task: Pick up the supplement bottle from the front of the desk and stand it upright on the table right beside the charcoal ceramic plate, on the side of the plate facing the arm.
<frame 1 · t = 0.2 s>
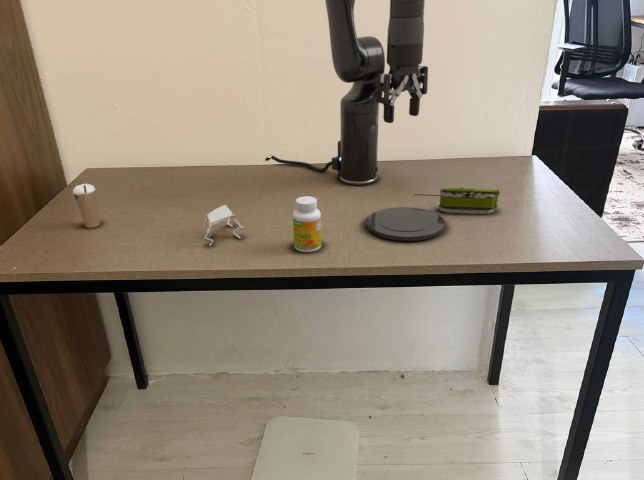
hand: (401, 118, 128), 17 cm above the table, tool pointing down, fingers open, 8 cm apart
plate: (405, 226, 119), on the table
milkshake: (93, 226, 125), on the table
toy tank: (452, 209, 127), on the table
supplement bottle: (307, 247, 112), on the table
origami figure: (225, 235, 119), on the table
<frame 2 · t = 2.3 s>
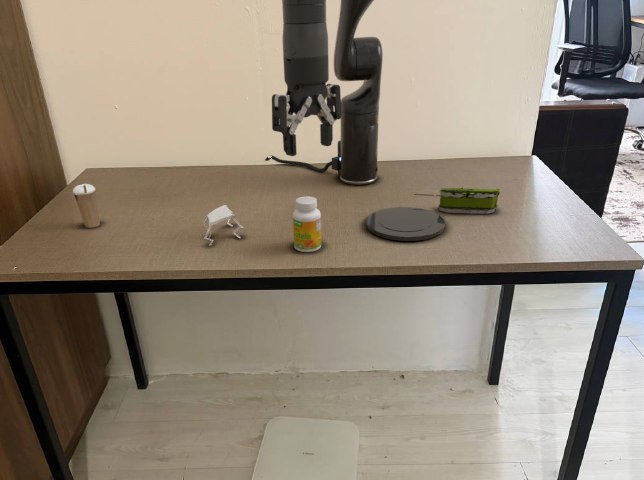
hand: (308, 150, 102), 19 cm above the table, tool pointing down, fingers open, 8 cm apart
nothing on the table moved.
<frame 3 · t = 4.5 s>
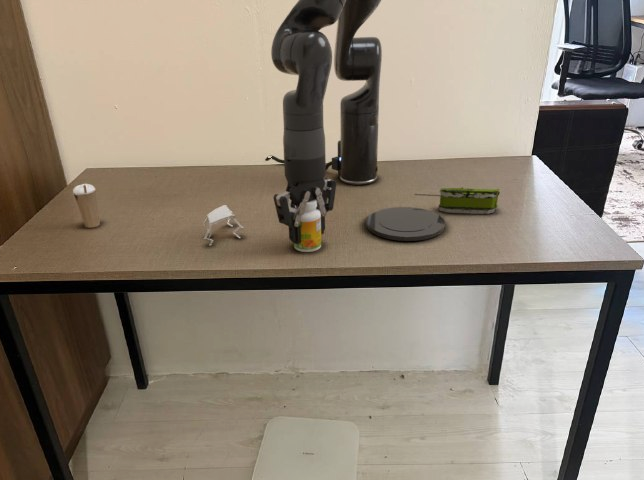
hand: (307, 237, 111), 2 cm above the table, tool pointing down, fingers closed on supplement bottle, 5 cm apart
supplement bottle: (307, 247, 112), on the table, touching gripper
everything else where it was.
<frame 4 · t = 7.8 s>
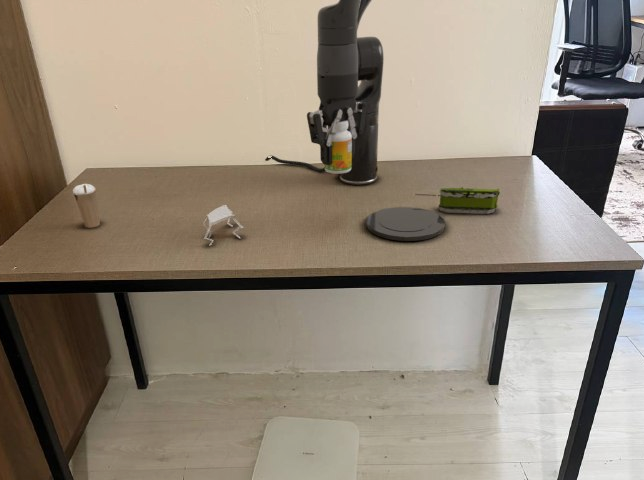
hand: (337, 160, 113), 14 cm above the table, tool pointing down, fingers closed on supplement bottle, 5 cm apart
supplement bottle: (338, 171, 114), point 12 cm above the table, touching gripper
everything else where it was.
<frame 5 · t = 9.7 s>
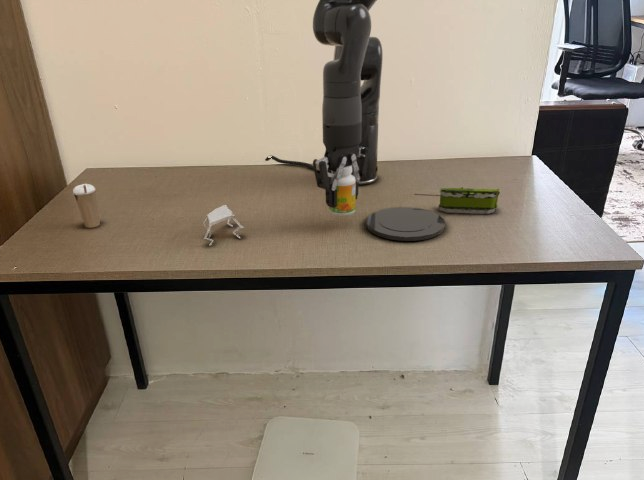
hand: (342, 202, 118), 5 cm above the table, tool pointing down, fingers closed on supplement bottle, 5 cm apart
supplement bottle: (342, 212, 119), point 3 cm above the table, touching gripper
everything else where it was.
when the fingers open (2 cm above the table, at t = 11.0 s): supplement bottle stays where it is, on the table.
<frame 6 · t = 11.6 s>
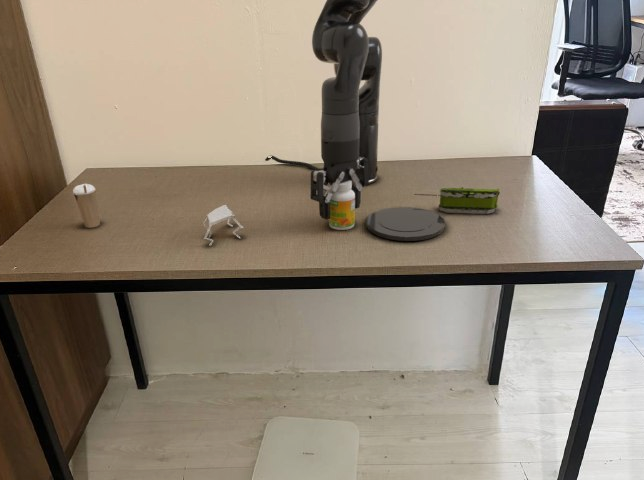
hand: (340, 212, 119), 3 cm above the table, tool pointing down, fingers open, 8 cm apart
supplement bottle: (341, 226, 120), on the table
everything else where it was.
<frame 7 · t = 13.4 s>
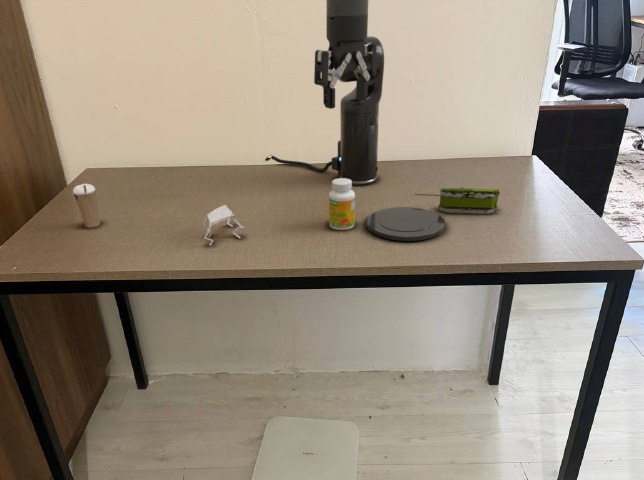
hand: (345, 104, 111), 24 cm above the table, tool pointing down, fingers open, 8 cm apart
nothing on the table moved.
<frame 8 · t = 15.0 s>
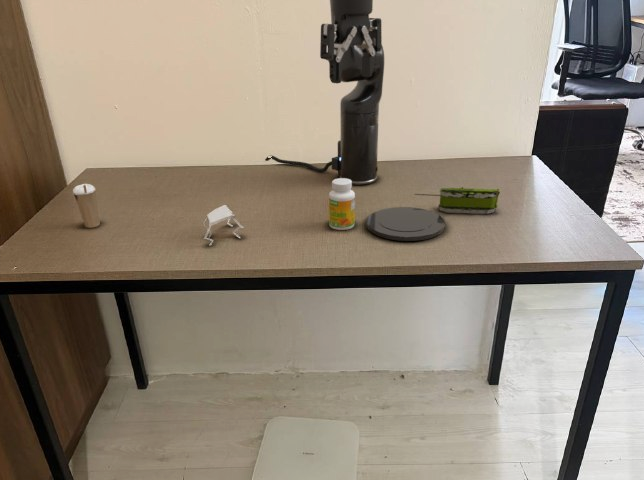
hand: (351, 79, 112), 28 cm above the table, tool pointing down, fingers open, 8 cm apart
nothing on the table moved.
at the end: supplement bottle 13.2 cm from the plate (horizontally); supplement bottle on the table; supplement bottle tilted 0° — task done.
